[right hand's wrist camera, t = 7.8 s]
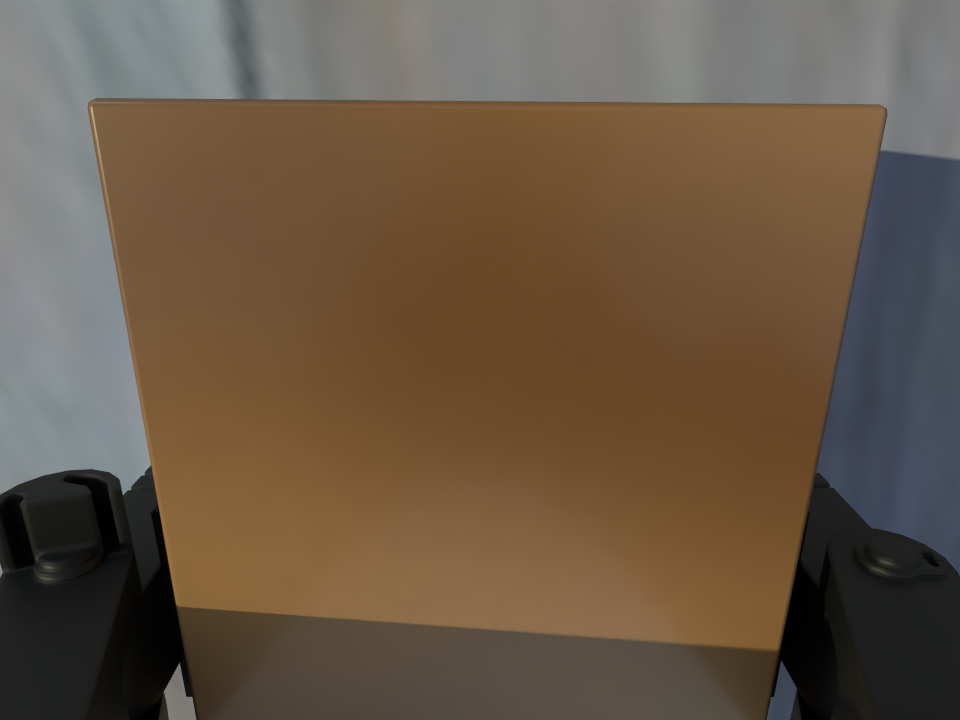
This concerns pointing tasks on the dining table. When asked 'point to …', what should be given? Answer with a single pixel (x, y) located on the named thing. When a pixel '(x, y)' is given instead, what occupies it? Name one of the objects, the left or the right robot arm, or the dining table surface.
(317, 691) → the bar
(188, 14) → the dining table surface
